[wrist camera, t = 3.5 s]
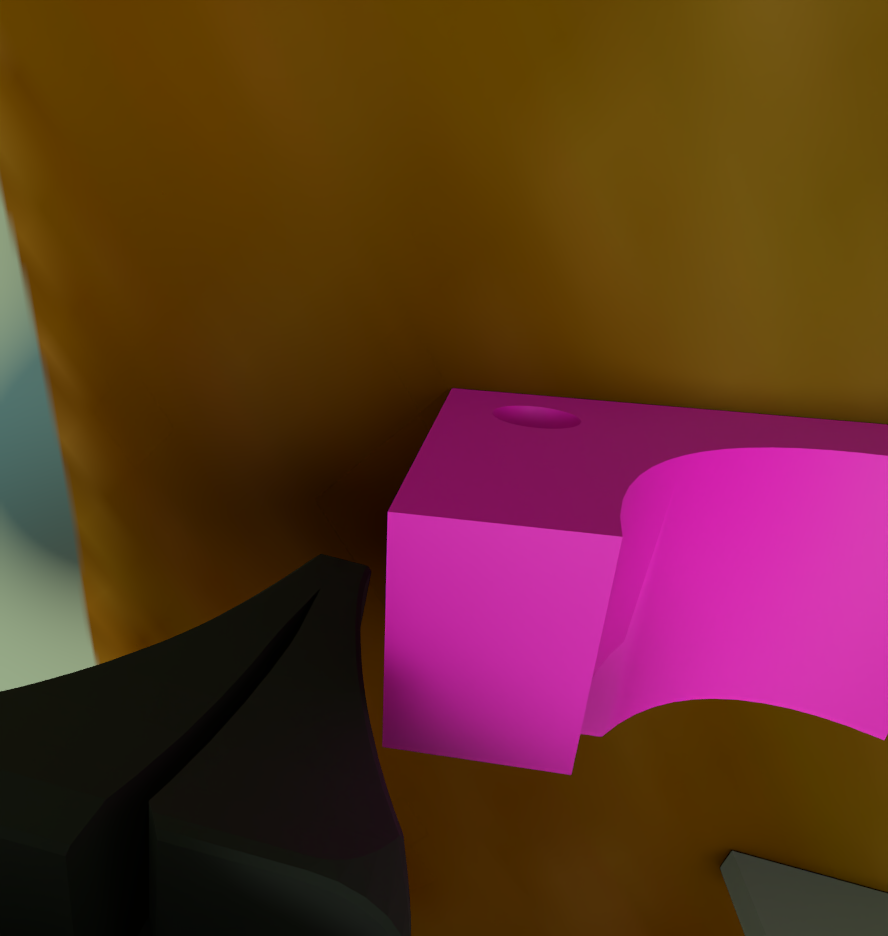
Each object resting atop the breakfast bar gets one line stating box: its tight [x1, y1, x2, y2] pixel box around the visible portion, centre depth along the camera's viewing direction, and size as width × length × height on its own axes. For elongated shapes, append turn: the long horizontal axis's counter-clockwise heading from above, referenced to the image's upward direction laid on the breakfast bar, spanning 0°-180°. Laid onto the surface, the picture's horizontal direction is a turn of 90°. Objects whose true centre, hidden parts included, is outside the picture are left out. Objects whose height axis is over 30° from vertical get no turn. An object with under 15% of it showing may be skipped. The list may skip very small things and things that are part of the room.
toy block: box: [383, 388, 888, 775], centre depth 10 cm, size 15×6×8 cm, turn 87°
